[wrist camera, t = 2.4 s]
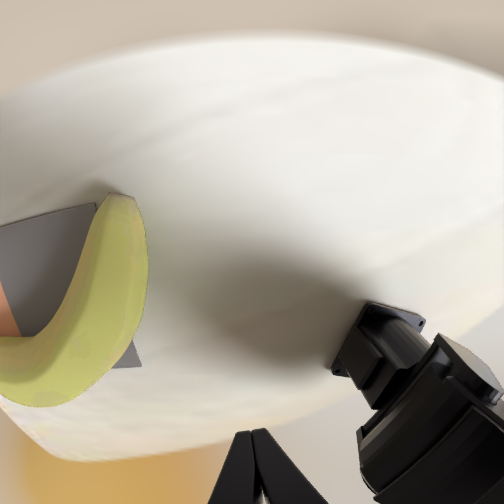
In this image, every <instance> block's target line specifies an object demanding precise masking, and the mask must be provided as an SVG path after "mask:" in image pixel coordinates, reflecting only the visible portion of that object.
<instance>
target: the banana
mask: <svg viewBox="0 0 504 504" xmlns="http://www.w3.org/2000/svg"><path fill="white" fill-rule="evenodd" d="M147 281H148V253H147V245H146V237H145V230H144V225H143V221H142V217H141V215H140V212H139V209H138V207H137V204H136V201H135V199H134V198H133V197H130V196H126V195H121V194H116V193H109V194H108V195H107V197H106V198H105V200H104V201H103V203H102V204H101V206H100V207H99V209H98V210H97V212H96V214H95V216H94V218H93V221H92V223H91V226H90V229H89V232H88V235H87V238H86V241H85V244H84V247H83V250H82V253H81V256H80V259H79V262H78V265H77V268H76V271H75V274H74V277H73V279H72V281H71V284H70V286H69V288H68V291H67V293H66V295H65V297H64V299H63V302H62V304H61V306H60V307H59V309H58V311H57V312H56V314H55V315H54V317H53V319H52V320H51V321H50V323H49V324H48V325H47V326H46V327H45V328H44V329H43V330H42V331H41V332H39V333H38V334H37V335H36V336H32V337H13V336H6V337H0V394H1V395H2V396H4V397H5V398H7V399H9V400H10V401H13V402H15V403H18V404H21V405H25V406H29V407H52V406H57V405H61V404H63V403H66V402H68V401H70V400H72V399H74V398H76V397H77V396H79V395H80V394H82V393H83V392H84V391H86V390H87V389H88V388H89V387H91V386H92V385H93V384H94V383H95V382H97V381H98V380H99V379H100V378H101V377H102V376H103V375H104V374H105V373H107V372H108V371H109V370H110V369H111V368H112V367H113V366H114V364H115V363H116V362H117V361H118V360H119V359H120V358H121V356H122V355H123V354H124V352H125V351H126V349H127V348H128V346H129V344H130V342H131V340H132V339H133V337H134V334H135V332H136V330H137V328H138V326H139V324H140V321H141V318H142V314H143V310H144V304H145V297H146V289H147Z"/></svg>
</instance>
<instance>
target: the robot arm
mask: <svg viewBox="0 0 504 504" xmlns="http://www.w3.org/2000/svg"><path fill="white" fill-rule="evenodd" d="M371 307H372V309H371V310H370V311H369V309H370V308H371ZM425 323H426V320H425V319H424V318H423V317H422V316H419V315H416V314H412V313H409V312H405V311H402V310H398V309H395V308H391V307H388V306H384V305H381V304H377V303H374V302H368V303H367V304H365V306H364V307H363V309H362V311H361V313H360V315H359V317H358V319H357V321H356V323H355V325H354V327H353V328H352V330H351V331H350V333H349V335H348V337H347V339H346V341H345V342H344V344H343V346H342V348H341V350H340V351H339V353H338V356H337V357H336V359H335V361H334V363H333V364H332V366H331V368H330V369H331V372H332V374H333V375H335V376H342V377H350V378H351V379H352V381H353V383H354V384H355V386H356V388H357V389H358V390H361V392H362V394H363V396H364V397H365V399H366V400H367V402H368V404H369V406H370V407H371V409H373V410H377V412H376V413H375V414H374V415H373V417H371V418H370V419H369V421H368V422H367V423H366V424H365V425H364V426H361V427H360V428H359V429H358V430H357V431H356V434H357V443H358V451H359V460H360V473H361V476H362V478H363V481H364V482H365V484H366V485H367V487H368V488H369V489H370V490H371V491H372V492H373V493H374V494H376V495H375V496H374V497H373V499H374V500H375V501H376V502H378V503H380V504H504V401H503V400H502V399H500V398H501V397H502V396H503V394H504V390H503V388H502V386H501V385H500V383H499V382H498V380H497V378H496V377H495V375H494V374H493V372H492V371H491V369H490V368H489V367H488V366H487V364H485V363H484V362H483V361H482V360H481V359H479V358H478V357H477V356H476V355H475V354H474V353H472V352H471V351H470V350H469V349H467V348H465V347H463V346H461V345H460V344H458V343H456V342H455V341H453V340H451V339H449V338H447V337H446V336H444V335H442V334H440V333H438V334H437V335H436V337H435V338H434V342H433V343H432V345H431V344H430V343H429V342H428V341H427V340H426V339H425V338H424V337H423V336H422V335H421V334H420V332H421V331H422V329H423V327H424V325H425ZM337 368H339V369H337ZM336 369H337V370H336ZM262 490H263V493H262ZM263 494H264V497H265V501H266V503H267V504H328V502H327V501H326V500H325V499H324V498H323V497H322V496H321V495H320V494H319V492H318V491H317V490H316V489H315V488H314V487H313V486H312V484H311V483H310V482H309V481H308V480H307V479H306V477H305V476H304V475H303V474H302V473H301V472H300V470H299V469H298V468H297V467H296V466H295V464H294V463H293V462H292V461H291V459H290V458H289V457H288V456H287V455H286V453H285V452H284V451H283V450H282V448H281V447H280V446H279V444H278V443H277V442H276V441H275V439H274V438H273V437H272V436H271V434H270V433H269V432H268V430H267V429H265V428H260V429H254V430H252V431H249V430H247V431H240V432H237V433H236V434H235V436H234V439H233V442H232V444H231V447H230V449H229V452H228V455H227V457H226V460H225V462H224V465H223V467H222V470H221V472H220V474H219V477H218V479H217V482H216V484H215V487H214V490H213V492H212V494H211V496H210V499H209V501H208V504H263Z"/></svg>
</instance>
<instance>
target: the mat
mask: <svg viewBox="0 0 504 504" xmlns="http://www.w3.org/2000/svg"><path fill="white" fill-rule="evenodd" d="M96 212H97V211H96V206H95V202H94V203H90V204H86V205H81V206H77V207H73V208H69V209H65V210H61V211H57V212H53V213H49V214H45V215H42V216H38V217H34V218H31V219H27V220H24V221H20V222H17V223H13V224H10V225H6V226H3V227H0V282H1V285H2V288H3V291H4V294H5V296H6V299H7V302H8V304H9V307H10V310H11V312H12V315H13V317H14V319H15V322H16V324H17V327H18V329H19V331H20V333H21V336H22V337H32V336H36V335H37V334H38V333H39V332H41V331H42V330H43V329H44V328H45V327H46V326H47V325H48V324H49V323H50V321H51V320H52V319H53V317H54V315H55V314H56V312H57V311H58V309H59V307H60V306H61V304H62V302H63V299H64V297H65V295H66V293H67V291H68V288H69V286H70V284H71V281H72V279H73V277H74V274H75V271H76V268H77V265H78V262H79V259H80V256H81V253H82V250H83V247H84V244H85V241H86V238H87V235H88V232H89V229H90V226H91V223H92V221H93V218H94V216H95V214H96ZM130 367H141V362H140V360H139V357H138V354H137V352H136V349H135V346H134V344H133V341H132V340H131V342H130V344H129V346H128V348H127V349H126V351H125V352H124V354H123V355H122V356H121V358H120V359H119V360H118V361H117V362H116V363H115V364H114V366H113V367H112V368H130ZM112 368H111V369H112Z"/></svg>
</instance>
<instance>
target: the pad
mask: <svg viewBox="0 0 504 504" xmlns="http://www.w3.org/2000/svg"><path fill="white" fill-rule="evenodd" d="M6 336H13V337H22V336H21V333H20V331H19V329H18V327H17V324H16V322H15V319H14V317H13V315H12V312H11V310H10V307H9V304H8V302H7V299H6V296H5V294H4V291H3V288H2V285H1V282H0V337H6Z"/></svg>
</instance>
